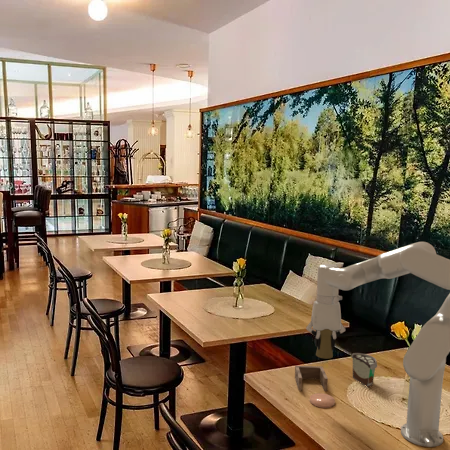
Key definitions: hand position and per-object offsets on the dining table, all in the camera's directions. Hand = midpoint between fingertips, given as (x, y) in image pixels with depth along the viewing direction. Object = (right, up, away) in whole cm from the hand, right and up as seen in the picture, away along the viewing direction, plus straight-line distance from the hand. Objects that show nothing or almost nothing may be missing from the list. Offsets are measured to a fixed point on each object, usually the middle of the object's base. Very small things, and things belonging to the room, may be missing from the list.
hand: (324, 347), depth 172 cm
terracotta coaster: (0, -20, +2) cm, 20 cm away
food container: (+21, -19, +20) cm, 35 cm away
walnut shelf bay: (-2, -19, +17) cm, 25 cm away
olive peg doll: (0, -3, 0) cm, 3 cm away
